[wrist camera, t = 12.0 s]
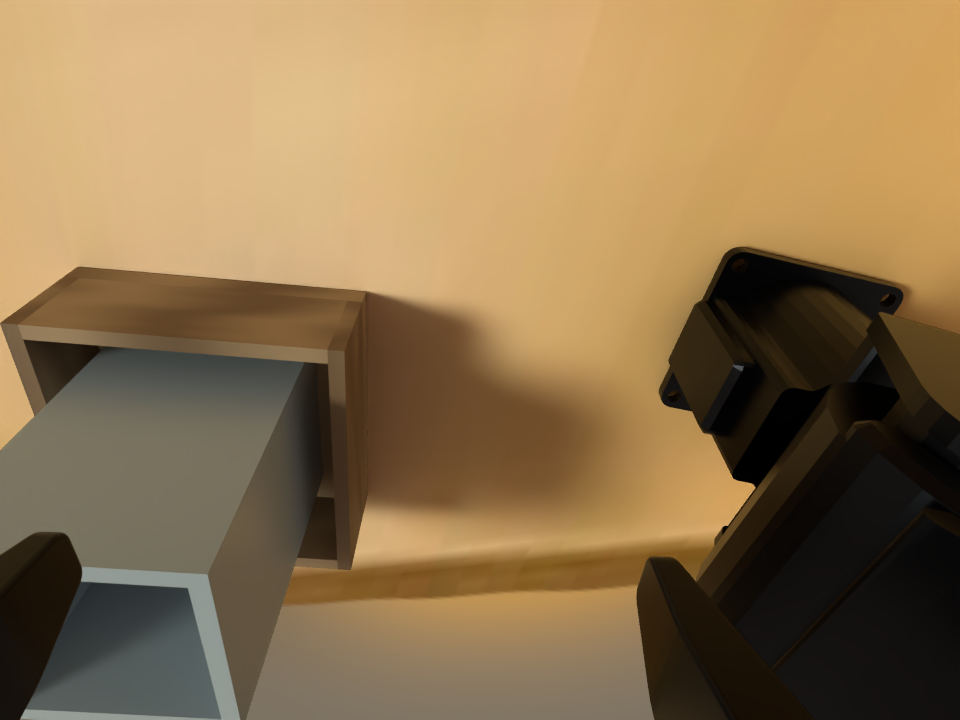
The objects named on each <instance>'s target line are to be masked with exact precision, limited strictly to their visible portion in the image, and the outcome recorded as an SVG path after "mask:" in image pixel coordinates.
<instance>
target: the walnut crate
mask: <svg viewBox="0 0 960 720" xmlns="http://www.w3.org/2000/svg"><path fill="white" fill-rule="evenodd" d="M0 325H1V327H2V330H3V333H4V335H5V338H6V341H7V343H8V346H9V349H10V352H11V354H12V357H13V360H14V362H15V365H16V368H17V370H18V373H19V376H20V378H21V381H22V384H23V386H24V389H25V392H26V394H27V397H28V400H29V402H30V405H31V408H32V410H33V413H34V416H35V415H37V414H38V413H39V412H40V411H41V410H42V409H43V408H44V407H45V406H46V405H47V404H48V403H49V402H50V401H51V400H52V399H53V398H54V397H55V396H56V395H57V394H58V393H59V392H60V391H61V390H62V389H63V388H64V387H65V386H66V385H67V384H68V383H69V382H70V381H71V380H72V379H73V378H74V377H75V376H76V375H77V374H78V373H79V372H80V371H81V370H82V369H83V368H84V367H85V366H86V365H87V364H88V363H89V362H90V361H91V360H92V359H93V358H94V357H95V356H96V355H97V354H98V353H99V352H100V351H101V350H102V349H103V348H104V347H105V346H110V347H123V348H135V349H148V350H160V351H173V352H185V353H198V354H210V355H223V356H235V357H248V358H261V359H273V360H286V361H298V362H311V363H316V366H317V383H318V399H319V415H320V431H321V447H322V463H323V477H322V481H321V484H320V487H319V490H318V493H317V496H316V500H315V503H314V506H313V509H312V512H311V515H310V519H309V522H308V525H307V528H306V531H305V534H304V537H303V541H302V544H301V547H300V550H299V553H298V556H297V560H296V563H295V566H297V567H312V568H328V569H344V570H351V567H352V562H353V558H354V553H355V549H356V544H357V539H358V535H359V530H360V526H361V521H362V517H363V512H364V508H365V503H366V499H367V367H366V292H364V291H353V290H341V289H329V288H318V287H306V286H294V285H283V284H271V283H259V282H248V281H236V280H224V279H212V278H201V277H189V276H177V275H166V274H154V273H142V272H131V271H119V270H107V269H96V268H84V267H77V268H75V269H74V270H72V271H71V272H70V273H68V274H67V275H66V276H64V277H63V278H61V279H60V280H59V281H57V282H56V283H55V284H53V285H52V286H50V287H49V288H48V289H46V290H45V291H44V292H42V293H41V294H39V295H38V296H37V297H35V298H34V299H33V300H31V301H30V302H28V303H27V304H26V305H24V306H23V307H22V308H20V309H19V310H17V311H16V312H15V313H13V314H12V315H11V316H9V317H8V318H6V319H5V320H4V321H2V322H1V323H0Z"/></svg>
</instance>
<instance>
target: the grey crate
mask: <svg viewBox="0 0 960 720" xmlns="http://www.w3.org/2000/svg"><path fill="white" fill-rule="evenodd" d="M322 477H323V463H322V447H321V431H320V415H319V399H318V383H317V366H316V363H311V362H298V361H286V360H273V359H261V358H248V357H235V356H223V355H210V354H198V353H185V352H173V351H160V350H148V349H135V348H123V347H110V346H105V347H104V348H103V349H102V350H101V351H100V352H99V353H98V354H97V355H96V356H95V357H94V358H93V359H92V360H91V361H90V362H89V363H88V364H87V365H86V366H85V367H84V368H83V369H82V370H81V371H80V372H79V373H78V374H77V375H76V376H75V377H74V378H73V379H72V380H71V381H70V382H69V383H68V384H67V385H66V386H65V387H64V388H63V389H62V390H61V391H60V392H59V393H58V394H57V395H56V396H55V397H54V398H53V399H52V400H51V401H50V402H49V403H48V404H47V405H46V406H45V407H44V408H43V409H42V410H41V411H40V412H39V413H38V414H37V415H35V416H34V417H33V418H32V419H31V420H30V421H29V422H28V423H27V424H26V425H25V426H24V427H23V428H22V429H21V430H20V431H19V432H18V433H17V434H16V435H15V436H14V437H13V438H12V439H11V440H10V441H9V442H8V443H7V444H6V445H5V446H4V447H3V448H2V449H1V450H0V554H2V553H3V552H5V551H6V550H8V549H10V548H11V547H13V546H14V545H16V544H17V543H19V542H20V541H22V540H23V539H25V538H26V537H28V536H29V535H31V534H33V533H36V532H62V533H65V534H66V535H68V537H69V538H70V540H71V542H72V545H73V547H74V549H75V552H76V554H77V556H78V558H79V561H80V563H81V566H82V579H81V583H80V585H79V588H78V590H77V593H76V595H75V598H74V600H73V603H72V605H71V608H70V610H69V612H68V615H67V617H66V620H65V622H64V625H63V627H62V630H61V632H60V635H59V637H58V639H57V642H56V644H55V647H54V649H53V652H52V654H51V657H50V659H49V662H48V664H47V666H46V669H45V671H44V673H43V675H42V678H41V680H40V682H39V684H38V686H37V688H36V690H35V692H34V694H33V696H32V698H31V700H30V702H29V704H28V706H27V707H26V709H25V711H24V713H23V715H22V717H21V719H36V720H246V718H247V714H248V711H249V708H250V705H251V702H252V699H253V695H254V692H255V689H256V686H257V683H258V679H259V676H260V673H261V670H262V667H263V664H264V661H265V657H266V654H267V651H268V648H269V645H270V642H271V638H272V635H273V632H274V629H275V626H276V623H277V620H278V616H279V613H280V610H281V607H282V604H283V601H284V598H285V594H286V591H287V588H288V585H289V582H290V579H291V575H292V572H293V569H294V566H295V563H296V560H297V556H298V553H299V550H300V547H301V544H302V541H303V537H304V534H305V531H306V528H307V525H308V522H309V519H310V515H311V512H312V509H313V506H314V503H315V500H316V496H317V493H318V490H319V487H320V484H321V481H322Z"/></svg>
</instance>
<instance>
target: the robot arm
mask: <svg viewBox="0 0 960 720" xmlns="http://www.w3.org/2000/svg"><path fill="white" fill-rule="evenodd" d="M739 259H744V262H743V264H742V265H741V266H739V267H737V268H732V267H733V264H734V263H735V261H737V260H739ZM887 294H889V296H888V297H887V298H886V299H885V300H884V301H881V298H882V297H883V296H885V295H887ZM902 300H903V292H902V291H901V289H899V288H898V287H897V286H895V285H894V284H892V283H890V282H886V281H882V280H877V279H873V278H869V277H865V276H861V275H856V274H852V273H848V272H844V271H840V270H835V269H831V268H827V267H823V266H819V265H814V264H810V263H806V262H802V261H798V260H793V259H789V258H785V257H781V256H777V255H772V254H768V253H764V252H760V251H756V250H752V249H747V248H743V247H736V248H733V249H731V250H729V251H728V252H727V253H726V254H725V255H724V256H723V258H722V260H721V262H720V264H719V266H718V268H717V270H716V272H715V274H714V276H713V278H712V281H711V283H710V285H709V287H708V289H707V291H706V293H705V295H704V297H703V299H702V300H701V301H699V302H698V303H697V304H695V305H694V307H693V309H692V312H691V314H690V316H689V318H688V320H687V322H686V324H685V326H684V328H683V330H682V332H681V335H680V337H679V339H678V341H677V343H676V345H675V347H674V349H673V351H672V353H671V355H670V358H669V364H670V367H669V370H668V372H667V374H666V376H665V378H664V380H663V382H662V384H661V386H660V388H659V395H660V398H661V400H662V402H663V403H664V404H665V405H666V406H669V407H673V408H678V409H683V410H688V411H692V412H693V414H694V416H695V418H696V421H697V423H698V425H699V427H700V428H701V430H702V432H703V433H705V434H710V435H712V436H713V438H714V440H715V442H716V444H717V447H718V449H719V451H720V453H721V455H722V457H723V459H724V461H725V463H726V465H727V467H728V469H729V471H730V473H731V475H732V477H733V479H735V480H738V481H743V482H748V483H752V484H754V486H755V490H754V491H753V492H752V494H751V495H750V496H749V498H748V499H747V501H746V502H745V503H744V505H743V506H742V507H741V509H740V510H739V511H738V513H737V514H736V516H735V517H734V518H733V520H732V521H731V522H730V524H729V525H728V526H724V527H723V528H722V529H721V530H720V532H719V533H718V535H717V536H716V537H715V542H714V548H713V549H712V551H711V552H710V553H709V555H708V556H707V557H706V559H705V560H704V562H703V563H702V564H701V567H700V570H699V573H698V575H697V578H696V581H695V580H694V579H693V578H692V577H691V575H690V574H689V573H688V572H687V571H686V570H685V568H684V567H683V566H682V565H681V564H680V563H679V562H678V561H677V560H676V559H675V558H673V557H661V556H651V557H649V558H648V559H647V561H646V563H645V566H644V569H643V572H642V575H641V578H640V582H639V585H638V588H637V608H638V616H639V623H640V631H641V638H642V646H643V653H644V661H645V668H646V675H647V683H648V690H649V696H650V702H651V706H652V711H653V715H654V719H655V720H960V334H956V333H953V332H949V331H946V330H942V329H939V328H935V327H932V326H928V325H925V324H922V323H918V322H915V321H911V320H908V319H904V318H901V317H897V316H894V315H893V314H894V313H895V311H896V310H897V308H898V307H899V305H900V304H901V302H902ZM880 301H881V302H880ZM673 391H678V392H677V393H676V394H675V395H673V396H669V394H670V393H671V392H673ZM81 579H82V566H81V563H80V561H79V558H78V556H77V554H76V552H75V549H74V547H73V545H72V542H71V540H70V538H69V537H68V535H66V534H65V533H62V532H36V533H33V534H31V535H29V536H28V537H26V538H25V539H23V540H22V541H20V542H19V543H17V544H16V545H14V546H13V547H11V548H10V549H8V550H6V551H5V552H3V553H2V554H0V720H20V719H21V717H22V715H23V713H24V711H25V709H26V707H27V706H28V704H29V702H30V700H31V698H32V696H33V694H34V692H35V690H36V688H37V686H38V684H39V682H40V680H41V678H42V675H43V673H44V671H45V669H46V666H47V664H48V662H49V659H50V657H51V654H52V652H53V649H54V647H55V644H56V642H57V639H58V637H59V635H60V632H61V630H62V627H63V625H64V622H65V620H66V617H67V615H68V612H69V610H70V608H71V605H72V603H73V600H74V598H75V595H76V593H77V590H78V588H79V585H80V583H81Z"/></svg>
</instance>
